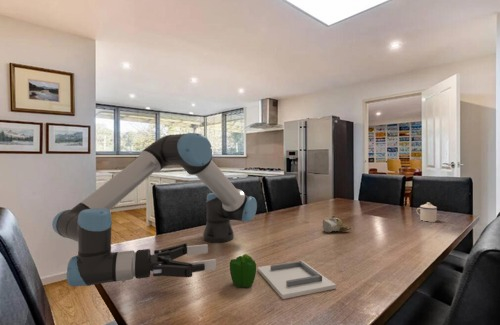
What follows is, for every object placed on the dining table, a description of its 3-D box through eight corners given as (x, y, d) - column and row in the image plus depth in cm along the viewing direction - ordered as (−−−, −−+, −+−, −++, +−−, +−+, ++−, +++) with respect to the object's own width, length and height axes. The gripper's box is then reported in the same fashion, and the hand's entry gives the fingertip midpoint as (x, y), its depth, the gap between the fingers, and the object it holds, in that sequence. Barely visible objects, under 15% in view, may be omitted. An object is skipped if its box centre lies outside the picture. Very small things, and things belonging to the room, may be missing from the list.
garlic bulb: (317, 214, 145) (338, 213, 150) (316, 230, 145) (338, 228, 150) (330, 218, 135) (352, 217, 141) (329, 235, 135) (351, 233, 141)
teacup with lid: (440, 221, 163) (440, 203, 163) (431, 223, 160) (431, 204, 160) (421, 217, 174) (421, 200, 174) (412, 219, 171) (412, 201, 171)
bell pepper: (226, 280, 85) (226, 250, 85) (250, 276, 88) (250, 247, 88) (234, 293, 77) (234, 259, 77) (260, 288, 80) (260, 255, 80)
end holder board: (257, 270, 93) (257, 263, 93) (302, 263, 99) (302, 256, 99) (282, 299, 74) (282, 289, 74) (335, 288, 80) (335, 279, 80)
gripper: (138, 261, 84) (204, 254, 91) (130, 300, 60) (220, 286, 67) (138, 238, 84) (204, 232, 91) (130, 268, 60) (220, 257, 67)
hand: (211, 255), depth 79 cm, fingers open, 13 cm apart
